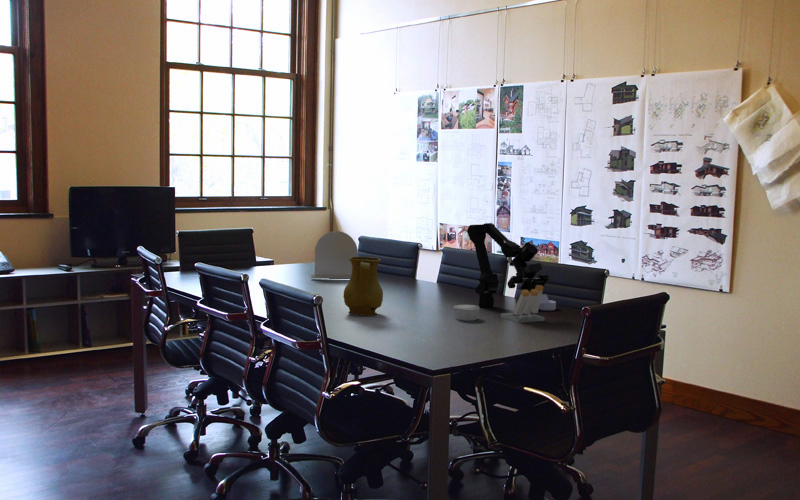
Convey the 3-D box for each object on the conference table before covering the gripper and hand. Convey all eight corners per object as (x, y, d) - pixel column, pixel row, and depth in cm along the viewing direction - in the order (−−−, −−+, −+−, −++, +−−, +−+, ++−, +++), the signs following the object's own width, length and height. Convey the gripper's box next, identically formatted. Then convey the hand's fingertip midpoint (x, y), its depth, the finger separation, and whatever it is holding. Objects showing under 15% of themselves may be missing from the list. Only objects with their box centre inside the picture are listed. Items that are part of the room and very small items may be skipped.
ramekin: (476, 322, 316) (476, 309, 315) (450, 320, 319) (450, 308, 318) (481, 317, 326) (482, 305, 326) (456, 315, 330) (456, 303, 329)
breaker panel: (500, 316, 328) (500, 312, 328) (525, 314, 334) (525, 311, 334) (518, 322, 316) (519, 318, 316) (544, 320, 321) (544, 316, 321)
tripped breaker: (529, 313, 325) (535, 285, 321) (534, 313, 326) (540, 284, 322) (532, 315, 323) (538, 287, 319) (537, 315, 324) (543, 286, 320)
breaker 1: (512, 314, 321) (522, 289, 314) (517, 313, 322) (527, 289, 315) (514, 317, 320) (524, 292, 312) (519, 317, 321) (529, 292, 314)
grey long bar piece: (521, 313, 323) (531, 289, 316) (526, 313, 324) (536, 288, 317) (523, 316, 322) (533, 292, 314) (528, 316, 323) (538, 292, 316)
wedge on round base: (532, 310, 345) (558, 310, 348) (533, 296, 344) (559, 295, 347) (524, 307, 353) (550, 306, 356) (525, 293, 353) (551, 292, 356)
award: (359, 278, 436) (360, 230, 433) (361, 280, 427) (361, 232, 424) (311, 278, 433) (311, 230, 430) (311, 280, 424) (311, 231, 421)
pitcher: (390, 313, 332) (391, 256, 329) (368, 320, 315) (369, 260, 313) (356, 309, 340) (357, 253, 337) (334, 315, 323) (334, 257, 321)
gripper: (511, 257, 322) (525, 286, 313) (547, 256, 330) (562, 284, 321) (501, 273, 330) (514, 302, 321) (536, 271, 338) (550, 299, 329)
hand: (535, 296), depth 323 cm, fingers closed, pressing on tripped breaker
